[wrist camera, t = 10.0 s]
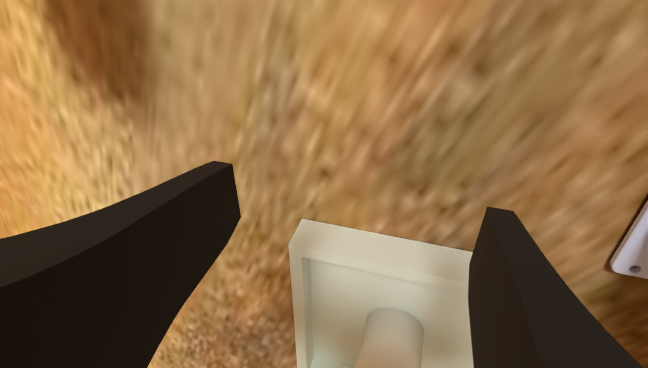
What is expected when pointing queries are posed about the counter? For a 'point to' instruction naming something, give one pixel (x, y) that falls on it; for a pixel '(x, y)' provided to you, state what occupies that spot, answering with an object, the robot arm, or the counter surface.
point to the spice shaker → (391, 340)
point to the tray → (375, 293)
